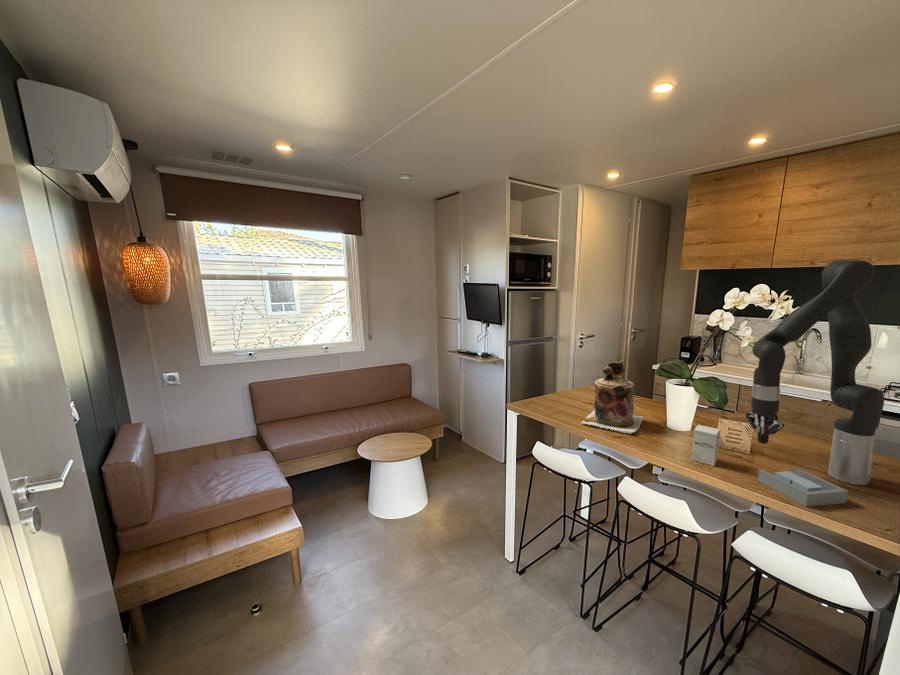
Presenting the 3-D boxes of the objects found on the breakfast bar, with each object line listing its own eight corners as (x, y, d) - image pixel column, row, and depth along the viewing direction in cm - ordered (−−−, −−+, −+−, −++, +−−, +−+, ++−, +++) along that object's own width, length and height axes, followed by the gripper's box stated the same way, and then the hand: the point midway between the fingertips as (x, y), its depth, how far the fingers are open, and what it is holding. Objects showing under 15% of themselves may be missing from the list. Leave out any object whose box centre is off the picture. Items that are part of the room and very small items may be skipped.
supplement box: (690, 460, 138) (693, 429, 137) (695, 454, 144) (697, 423, 142) (714, 466, 133) (716, 434, 132) (718, 460, 138) (720, 428, 137)
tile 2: (804, 490, 117) (805, 478, 117) (821, 498, 112) (822, 487, 112) (790, 491, 117) (791, 479, 116) (806, 500, 112) (808, 488, 111)
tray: (794, 477, 125) (795, 466, 124) (846, 503, 110) (848, 490, 109) (758, 480, 123) (759, 469, 123) (805, 506, 108) (807, 494, 108)
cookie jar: (594, 411, 196) (596, 354, 191) (644, 420, 181) (648, 358, 177) (580, 425, 176) (582, 361, 172) (635, 436, 161) (638, 367, 157)
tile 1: (787, 482, 122) (788, 471, 122) (803, 490, 117) (804, 478, 117) (774, 483, 122) (775, 472, 121) (789, 491, 117) (790, 479, 116)
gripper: (794, 401, 121) (790, 450, 123) (758, 390, 134) (755, 434, 136) (773, 403, 120) (770, 452, 122) (739, 392, 133) (736, 436, 135)
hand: (762, 442), depth 129 cm, fingers closed
